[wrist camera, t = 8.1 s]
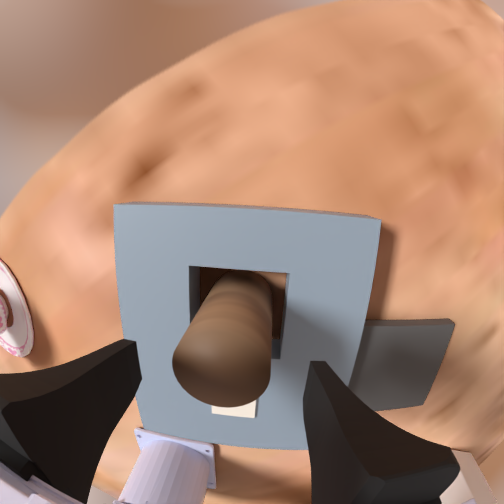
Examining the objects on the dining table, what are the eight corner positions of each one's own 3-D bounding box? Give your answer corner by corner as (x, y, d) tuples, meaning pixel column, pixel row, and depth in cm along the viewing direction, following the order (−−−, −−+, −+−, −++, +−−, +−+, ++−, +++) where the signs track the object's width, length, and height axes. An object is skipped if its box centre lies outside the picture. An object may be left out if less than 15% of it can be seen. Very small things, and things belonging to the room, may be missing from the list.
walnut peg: (271, 328, 19) (267, 410, 11) (211, 324, 19) (177, 401, 11) (274, 270, 18) (273, 333, 10) (210, 267, 18) (167, 324, 10)
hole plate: (322, 428, 21) (326, 451, 18) (153, 410, 21) (143, 430, 19) (367, 215, 17) (382, 220, 14) (133, 201, 17) (112, 204, 15)
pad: (418, 398, 19) (422, 404, 18) (336, 405, 20) (338, 413, 19) (448, 318, 18) (454, 324, 17) (358, 319, 18) (362, 326, 17)
